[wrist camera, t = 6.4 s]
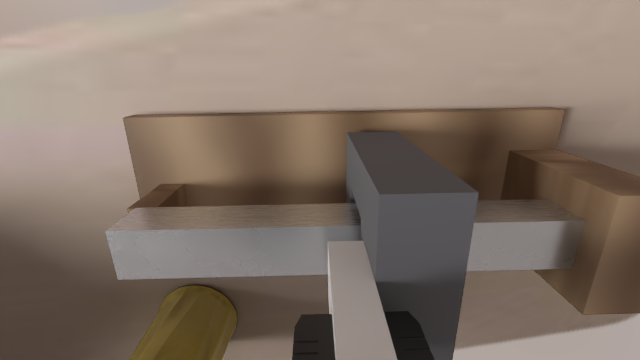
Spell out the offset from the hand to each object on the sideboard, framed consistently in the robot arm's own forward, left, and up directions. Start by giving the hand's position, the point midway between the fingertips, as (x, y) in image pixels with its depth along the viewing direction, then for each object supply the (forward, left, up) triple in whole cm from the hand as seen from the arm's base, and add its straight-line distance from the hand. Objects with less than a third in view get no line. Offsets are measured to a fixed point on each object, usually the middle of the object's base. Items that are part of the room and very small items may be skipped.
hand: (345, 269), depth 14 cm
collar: (+2, 0, -7) cm, 8 cm away
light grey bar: (0, 0, -4) cm, 4 cm away
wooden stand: (0, 0, -9) cm, 9 cm away
